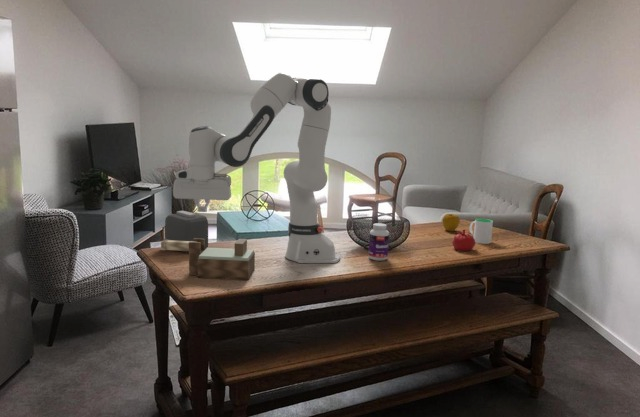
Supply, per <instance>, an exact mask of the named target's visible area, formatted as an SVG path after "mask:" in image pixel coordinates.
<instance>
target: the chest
mask: <svg viewBox="0 0 640 417" xmlns="http://www.w3.org/2000/svg"><path fill="white" fill-rule="evenodd" d="M193 241H195V242H189V253H188V275H189V276H197V278H198V279H209V280H210V279H215V280H231V281H232V280H233V281H249V280H250V279H251V277H252V275H253V274H254V272H255V267H256V266H255V262H256V259H255V258H256V255H255V253H256V252H255V251H254V253H253V254H252V256H251V257H250V259H249V260H248V261H238V260H217V259H199V255H200V254H201V253H202V252H203V251H204V250H205V239H201V238H194V239H193Z"/></svg>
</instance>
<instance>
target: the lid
mask: <svg viewBox="0 0 640 417" xmlns="http://www.w3.org/2000/svg"><path fill="white" fill-rule="evenodd" d="M254 252H255V249H248V239H247V238H238V239H237V240H236V241H235V242H234V248H224V247H207V248H206V249H205V250H204V251H203V252H202V253H201V254H200V255H199V259H217V260H238V261H248V260H249V259H250V257H251V256H252V254H253V253H254Z"/></svg>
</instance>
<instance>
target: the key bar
mask: <svg viewBox="0 0 640 417" xmlns="http://www.w3.org/2000/svg"><path fill="white" fill-rule="evenodd" d="M189 242H195V241H174V240H166V239H163V240H162V241H161V242H160V250H161V251H180V252H182V251H189Z"/></svg>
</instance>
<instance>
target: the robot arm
mask: <svg viewBox="0 0 640 417" xmlns="http://www.w3.org/2000/svg"><path fill="white" fill-rule="evenodd" d="M328 102H329V87H328V85H327V83H326V81H324V79H320V78H319V77H311V76H302V77H292V76H291V75H289V74H288V73H285V72H278V73H277V74H275V75H273V76H272V77H271V78H269V79H268V80H267V81H266V82H264V84H262V86H261V87H260V88H259V89H258V90H257V91H256V92H255V93H254V95H253V97H252V99H251V100H250V110H251V112H252V114H253V115H252V117H251V119H250V121H248V123H247V124H246V126H245V127H244V128H243V129H242V130H241V132H240V133H239V134H237V135H235V136H229V135H226V134H224V133H221V132H219V131H217V130H215V129H214V128H213V127H212V126H209V125H208V126H207V125H206V126H203V125H202V126H198V127H194V128H192V129H191V131H190V132H189V136H188V154H189V162H188V168H184V169H182V170H179V171H177V172H175V174H174V175H175V180H174V181H173V186H172V187H173V188H172V196H173V198H175V199H177V200H179V199H180V200H181V199H182V200H194V204H195V206H196V207H197V212H198V213H200V212H201V213H202V212H203V213H207V212H208V206H209V205H210V203H211V201H229V200H230V199H231V198H232V189H231V185H232V178H231V176H230V175H228V174H227V173H216V171H215V169H216V167H215V165H216V164H215V163H216V162H219V163H223V164H226V165H228V166H229V167H232V168H239V167H242V166H244V165H245V164H246V163H247V162H248V161H249V159H250V158H251V155H252V151H253V149H254V147H255V145H256V144H257V143H258V141H259V140H260V139H261V137H262V136H263V135H264V133H266V131H267V130H268V128H269V127H270V126H271V124H272V123H273V122H274V119H275V118H276V117H277V116H278V114H279V113H281V111H282V110H283V109H284V108H285V107H286V106H287V104H290V105H292V106H298V107H302V108H303V118H302V121H301V126H300V131H299V135H298V140H297V148H298V155H299V159H298V160H293V161H291V162H289V163H287V164H286V165H285V167H284V169H283V178H284V179H285V180H284V181H285V182H286V187H287V188H286V189H287V194H288V197H289V198H288V199H289V222H288V225H287V226H288V228H287V230H288V231H287V233H288V242H287V248H286V252H285V255H284V257H285V258H286V259H288V260H290V261H293V262H295V263H298V264H330V263H331V264H336V263H338V262H339V261H341V260H340V259H341V255H340V253H339V252H337V251H336V249H335V248H336V247H335V244H334V242H333V241H332V239H330V238H329V237H328V236H326V235H325V234H324V233H323V226H322V224H321V223H318V202H317V201H316V198H315V193H314V192H320V191H321V190H323V189H324V188H325V186H326V185H327V183H328V175H327V172H326V165H325V163H326V162H325V161H326V160H325V159H326V158H325V156H326V155H325V153H326V145H327V141H328V137H329V133H330V132H329V131H330V127H331V118H332V117H331V116H332V107H331V105H330V104H329V103H328ZM201 200H204V203H205V205H204V206H203V205H201V204H200V201H201Z"/></svg>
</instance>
